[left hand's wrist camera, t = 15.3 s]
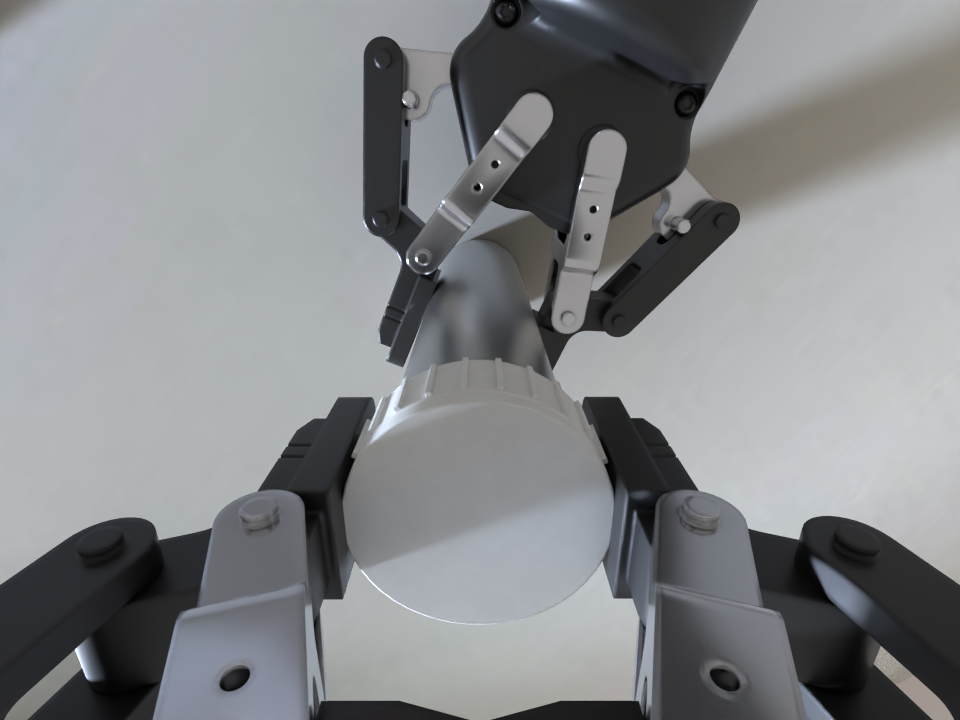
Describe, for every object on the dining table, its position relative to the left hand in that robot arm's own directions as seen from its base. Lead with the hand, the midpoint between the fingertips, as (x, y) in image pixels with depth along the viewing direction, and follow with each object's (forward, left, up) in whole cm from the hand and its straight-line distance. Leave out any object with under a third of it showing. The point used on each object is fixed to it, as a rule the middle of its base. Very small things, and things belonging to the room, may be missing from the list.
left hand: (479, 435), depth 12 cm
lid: (0, 0, +3) cm, 3 cm away
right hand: (-1, +2, -9) cm, 9 cm away
